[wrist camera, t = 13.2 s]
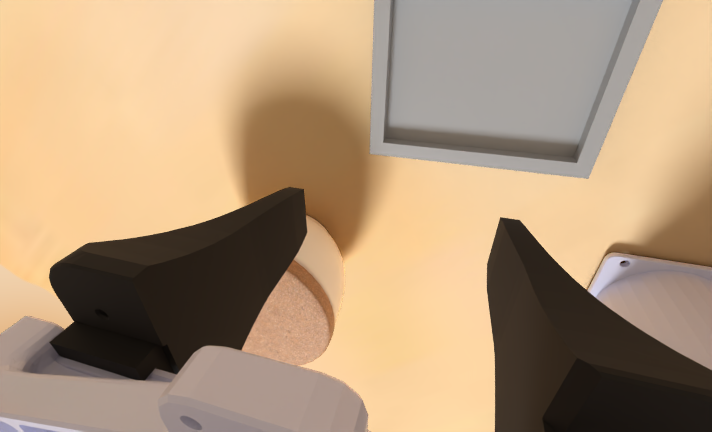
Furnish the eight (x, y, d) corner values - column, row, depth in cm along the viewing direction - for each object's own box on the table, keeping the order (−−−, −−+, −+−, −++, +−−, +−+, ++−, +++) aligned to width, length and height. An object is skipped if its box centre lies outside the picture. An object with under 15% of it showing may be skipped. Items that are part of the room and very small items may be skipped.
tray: (660, -27, 14) (675, -29, 13) (582, 169, 19) (588, 178, 18) (380, -26, 17) (375, -27, 16) (374, 146, 22) (369, 153, 21)
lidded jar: (333, 309, 31) (290, 409, 24) (230, 253, 31) (153, 337, 24) (385, 228, 25) (349, 330, 17) (256, 159, 25) (162, 231, 17)
